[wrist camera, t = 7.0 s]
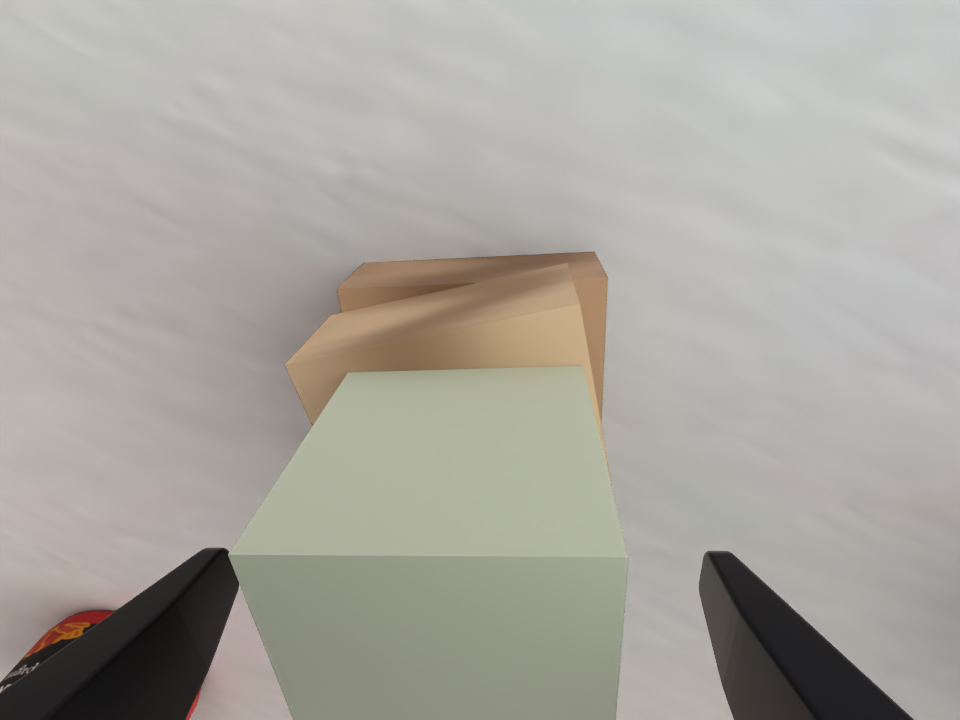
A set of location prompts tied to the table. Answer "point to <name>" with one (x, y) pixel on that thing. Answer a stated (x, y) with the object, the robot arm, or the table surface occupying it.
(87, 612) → the canned food
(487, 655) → the cube
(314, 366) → the tower top
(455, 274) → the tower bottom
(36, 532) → the table surface
